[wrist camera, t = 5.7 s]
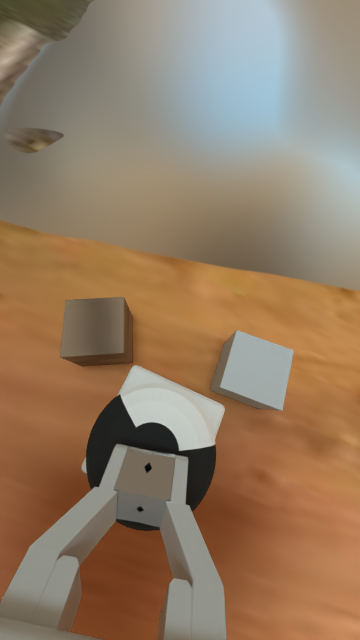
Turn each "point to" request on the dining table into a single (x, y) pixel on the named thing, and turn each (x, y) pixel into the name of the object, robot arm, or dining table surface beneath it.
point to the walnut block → (97, 332)
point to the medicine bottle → (157, 430)
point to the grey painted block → (253, 371)
